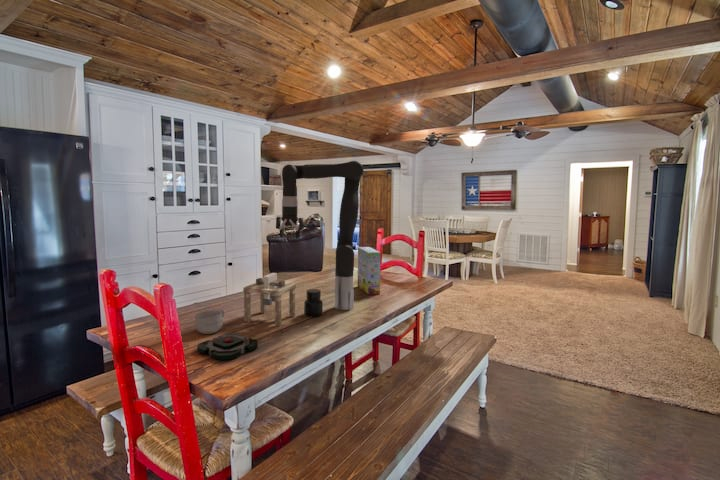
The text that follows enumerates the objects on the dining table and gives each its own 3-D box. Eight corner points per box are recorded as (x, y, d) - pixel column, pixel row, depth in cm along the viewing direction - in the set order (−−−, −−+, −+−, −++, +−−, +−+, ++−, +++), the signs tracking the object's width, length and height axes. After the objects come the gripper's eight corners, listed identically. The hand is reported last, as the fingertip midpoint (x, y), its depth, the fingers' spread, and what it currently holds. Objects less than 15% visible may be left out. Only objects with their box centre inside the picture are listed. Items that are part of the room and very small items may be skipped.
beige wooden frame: (295, 316, 184) (295, 278, 181) (279, 326, 168) (279, 285, 166) (262, 311, 189) (262, 274, 187) (243, 321, 174) (243, 281, 171)
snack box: (356, 286, 245) (357, 246, 242) (368, 285, 248) (370, 246, 245) (366, 295, 225) (368, 252, 222) (380, 294, 227) (382, 251, 224)
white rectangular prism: (271, 299, 182) (271, 272, 180) (278, 300, 181) (278, 273, 179) (262, 304, 175) (262, 276, 173) (269, 305, 174) (269, 277, 172)
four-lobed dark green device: (192, 352, 141) (191, 340, 140) (231, 337, 156) (231, 326, 155) (224, 365, 131) (224, 352, 131) (263, 348, 147) (263, 336, 146)
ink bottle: (315, 310, 193) (315, 287, 192) (326, 314, 187) (327, 290, 185) (299, 314, 186) (299, 290, 185) (310, 319, 180) (311, 294, 179)
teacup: (206, 338, 153) (205, 319, 152) (189, 332, 159) (189, 314, 158) (234, 328, 165) (234, 310, 164) (217, 323, 171) (217, 306, 170)
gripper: (306, 205, 192) (305, 238, 194) (280, 204, 196) (280, 236, 198) (299, 206, 185) (299, 239, 187) (273, 205, 189) (273, 237, 191)
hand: (289, 237), depth 192 cm, fingers open, 8 cm apart
